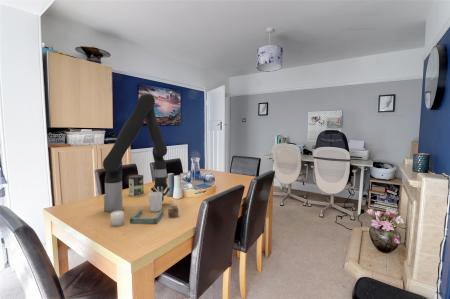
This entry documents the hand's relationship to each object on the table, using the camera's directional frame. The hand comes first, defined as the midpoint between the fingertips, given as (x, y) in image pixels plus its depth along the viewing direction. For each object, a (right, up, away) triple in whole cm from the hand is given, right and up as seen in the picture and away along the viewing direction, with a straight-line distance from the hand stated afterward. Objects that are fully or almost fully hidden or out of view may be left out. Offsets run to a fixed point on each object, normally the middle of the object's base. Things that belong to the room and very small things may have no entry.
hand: (161, 201), depth 145 cm
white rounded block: (-14, -4, -30) cm, 34 cm away
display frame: (-1, -4, -23) cm, 23 cm away
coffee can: (-24, 0, +20) cm, 31 cm away
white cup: (-1, -3, -10) cm, 10 cm away
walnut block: (+12, -4, -19) cm, 23 cm away
